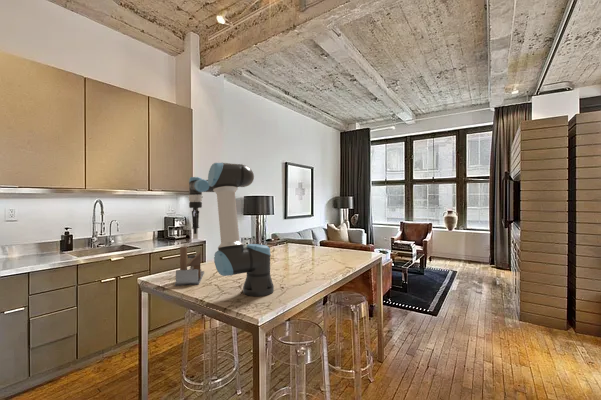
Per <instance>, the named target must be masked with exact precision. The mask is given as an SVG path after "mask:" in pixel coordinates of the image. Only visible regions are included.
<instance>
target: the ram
mask: <svg viewBox="0 0 601 400" xmlns="http://www.w3.org/2000/svg"><path fill="white" fill-rule="evenodd" d="M196 255H197V254H195V255H194V254H193V255H191V254H190V255H187V259H189V260H190V261H191V260H192V259H193V258H194V257H195V256H196ZM190 261H189V262H190ZM189 267H190V268H189V269H193V266H189Z"/></svg>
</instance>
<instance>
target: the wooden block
mask: <svg viewBox="0 0 601 400" xmlns="http://www.w3.org/2000/svg"><path fill="white" fill-rule="evenodd" d="M195 255H196V256H195V257H194V258H193V259H192V260H191V261H189V262H188V246H186V245H185V246H184V245H182V246H180V247H179V270H188V267H190V266H193V269H198V278H200V277H201V271H202V268H201V267H202V266H201V252H200V251H198V253H197V254H195Z"/></svg>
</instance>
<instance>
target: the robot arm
mask: <svg viewBox="0 0 601 400" xmlns="http://www.w3.org/2000/svg"><path fill="white" fill-rule="evenodd" d="M254 178H255V175H254V171H252V169H251V168H250V167H249V166H248V165H245V164H243V163H241V164H240V163H239V164H238V163H228V162H214V163H212V165H211V166H210V168H209V170H208V175H207V179H203V178H202V177H198V176H190V177H189V178H188V187H189V188H188V190H189V191H188V201H189V203H188V206H189V207H188V208H190V209H192V210H191V218H192V227H191V229H192V239H193V240H198V239H199V229H200V226H199V222H200V221H199V218H200V210H199V209H202V208H203V205H202V204H203V203H202V200H203V196H202V195H203V193H215V194H216V200H217V201H216V202H217V211H218V222H219V223H218V224H219V233H220V234H219V235H220V244H219V245H218V247H217V251H215V253H214V257H213V259H214V260H213V261H214V266H215V268H216V271H217V272H218V274H219V275H220V276H223V277H228V276H229V277H230V276H231V277H232V276H234V275H241V274H246V277H245V281H244V283H243V286H242V293H243V294H244V295H245V296H250V297H263V296H267V295H272V293H274V292H275V288H274V287H275V285H274V283H273V280H272V277H271V256H272V254H271V248H270V247H269V246H268V245H265V244H260V243H259V244H258V243H248V244H246V245H245V246H246V247H244V244H243V242H241V240H240V231H239V223H238V222H239V220H238V211H237V210H238V209H237V202H236V201H237V199H236V192H237V191H238V190H239V188H245V187H248V186H250V185H251V184H252V183H254Z"/></svg>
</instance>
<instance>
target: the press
mask: <svg viewBox="0 0 601 400" xmlns="http://www.w3.org/2000/svg"><path fill="white" fill-rule="evenodd" d="M204 274H205V270H201V277H200V278H198V269H190V268H189V269H188V268H187V270H180V269H176V270H175V282H174V287H179V286H195V285H196V286H197V285H198V286H199V285H200V284H201V281H202V278H203V276H204Z"/></svg>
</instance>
